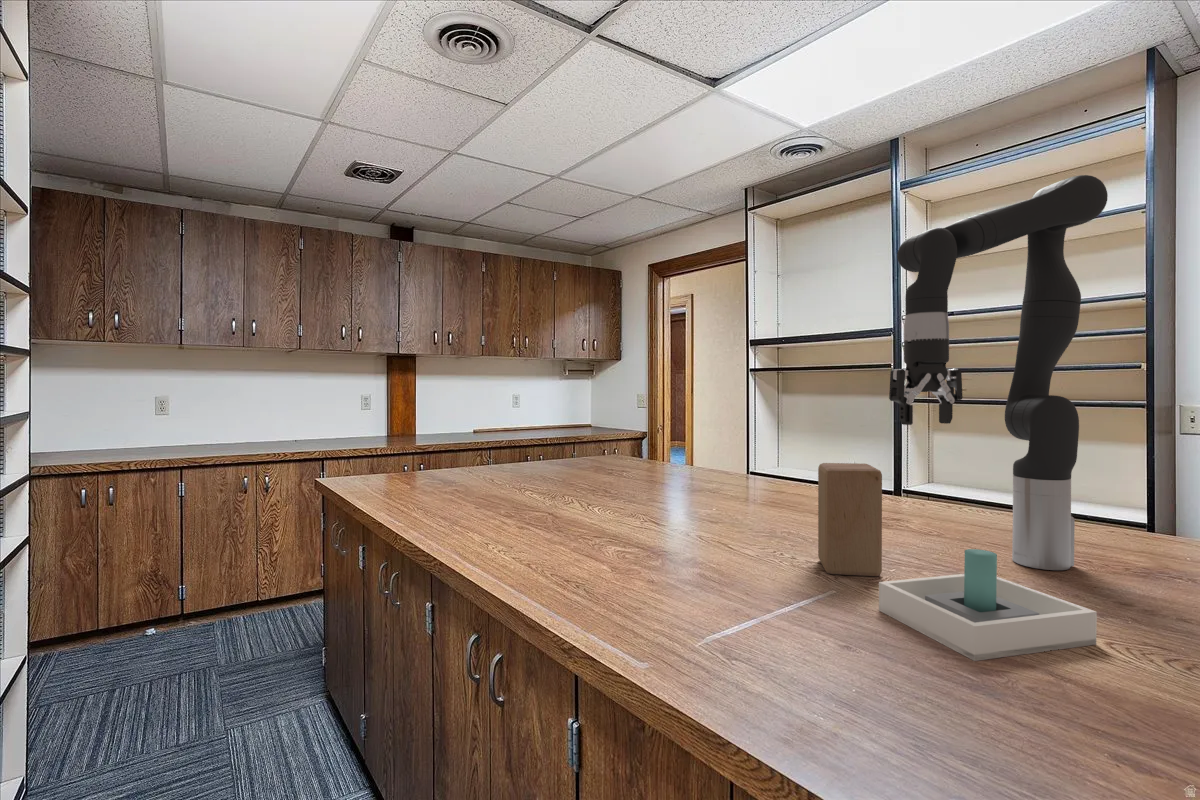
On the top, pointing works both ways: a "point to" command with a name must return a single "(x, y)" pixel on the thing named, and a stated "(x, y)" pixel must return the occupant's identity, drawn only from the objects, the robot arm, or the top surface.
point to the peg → (980, 580)
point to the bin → (988, 617)
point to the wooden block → (850, 519)
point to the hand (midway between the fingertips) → (925, 424)
